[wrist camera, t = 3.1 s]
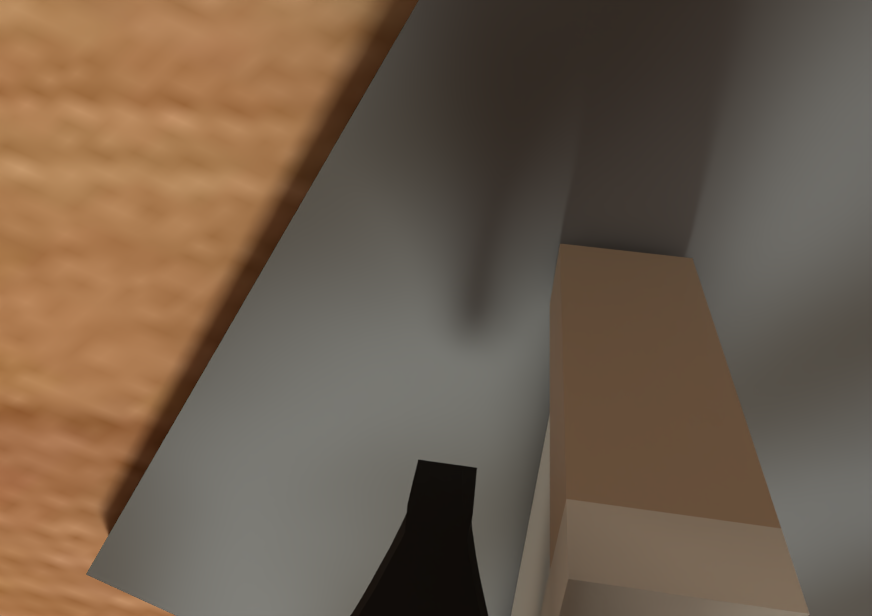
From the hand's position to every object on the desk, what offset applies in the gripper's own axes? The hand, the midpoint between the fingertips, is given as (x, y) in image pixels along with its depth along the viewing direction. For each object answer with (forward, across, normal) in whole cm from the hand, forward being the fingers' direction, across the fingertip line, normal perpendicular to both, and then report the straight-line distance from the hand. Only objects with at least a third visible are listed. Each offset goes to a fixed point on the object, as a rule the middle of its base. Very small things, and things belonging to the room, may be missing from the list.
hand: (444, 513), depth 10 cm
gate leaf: (+2, -2, +2) cm, 4 cm away
